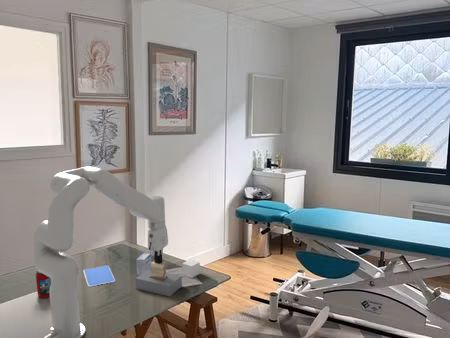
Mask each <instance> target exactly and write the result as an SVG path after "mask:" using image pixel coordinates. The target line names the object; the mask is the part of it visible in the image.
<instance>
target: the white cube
mask: <svg viewBox="0 0 450 338" xmlns="http://www.w3.org/2000/svg"><path fill="white" fill-rule="evenodd" d="M200 263H201V262H199V261H197V260H194V259H190V258H189V259H188V260H186V261H184V262H182V265H181V266H182V275H184V276H185V275H186V277H188V278H190V277H191V279H192V278H194V277H196V276H198V275H200V273H201V267H200V266H201V264H200Z"/></svg>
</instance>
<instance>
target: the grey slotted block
mask: <svg viewBox="0 0 450 338" xmlns="http://www.w3.org/2000/svg"><path fill="white" fill-rule="evenodd" d="M182 279H183V277H182V275H178V274H175V273H168V272H166V279H165V280H163V281H162V280H157V279H153V278H151V270H150V269H148V270H147V271H145V272H144V273H142V274H141V275H140V276H136V277H135V289H137V290H141V291H145V292H150V293H153V294H158V295H162V296H167V297H171V296H172V295H173V294H174V293H176V292H177V291H178V290H179V289H180V288H182V287H183V281H182Z"/></svg>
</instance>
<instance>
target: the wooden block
mask: <svg viewBox="0 0 450 338" xmlns="http://www.w3.org/2000/svg"><path fill="white" fill-rule="evenodd" d="M166 273H167V264H166V261H165V262H164V261H162V263H160V264H159V263H155V262H154V260H153V261H151V278H153V279H157V280H162V281H163V280H165V279H166Z"/></svg>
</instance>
